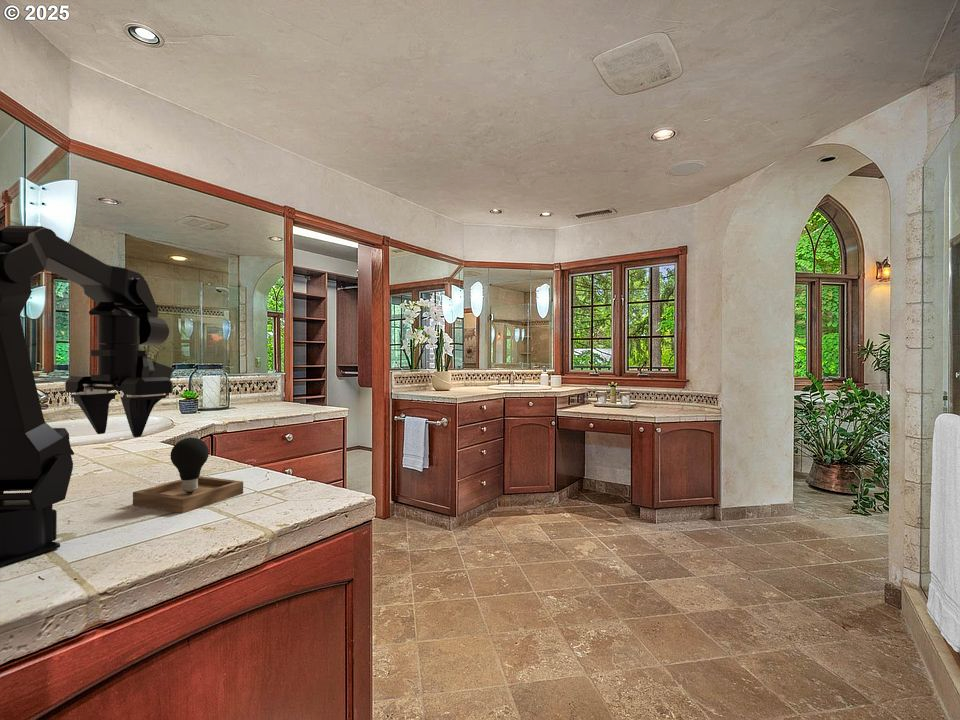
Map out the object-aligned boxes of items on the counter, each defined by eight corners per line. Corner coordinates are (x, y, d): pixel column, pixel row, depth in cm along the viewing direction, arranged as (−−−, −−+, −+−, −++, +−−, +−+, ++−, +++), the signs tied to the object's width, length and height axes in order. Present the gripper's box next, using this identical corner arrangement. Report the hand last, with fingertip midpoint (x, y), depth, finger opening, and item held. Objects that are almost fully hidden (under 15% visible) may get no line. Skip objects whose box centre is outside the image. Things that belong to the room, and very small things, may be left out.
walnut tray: (183, 513, 76) (182, 499, 76) (132, 504, 80) (132, 492, 80) (243, 493, 88) (243, 481, 88) (196, 486, 92) (196, 475, 92)
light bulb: (195, 498, 81) (195, 440, 81) (162, 498, 81) (162, 440, 81) (215, 489, 87) (215, 435, 87) (184, 488, 87) (184, 434, 87)
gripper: (201, 345, 84) (201, 431, 85) (130, 345, 91) (130, 426, 91) (137, 343, 74) (137, 441, 74) (63, 344, 80) (63, 434, 80)
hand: (118, 435), depth 80 cm, fingers open, 9 cm apart
